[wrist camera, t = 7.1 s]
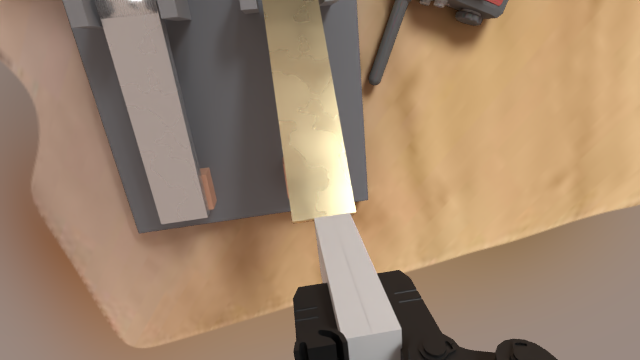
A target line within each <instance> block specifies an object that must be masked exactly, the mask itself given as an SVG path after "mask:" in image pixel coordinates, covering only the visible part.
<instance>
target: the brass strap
mask: <svg viewBox="0 0 640 360" xmlns="http://www.w3.org/2000/svg"><path fill="white" fill-rule="evenodd" d="M262 4H263V11H264V18H265V26H266V33H267V40H268V47H269V55H270V62H271V69H272V77H273V84H274V91H275V99H276V106H277V113H278V120H279V128H280V135H281V142H282V150H283V157H284V164H285V171H286V179H287V186H288V193H289V201H290V208H291V215H292V222H293V224H295V223H302V222H309V221H314V218H318V217H325V216H332V215H339V214H345V213H350V214H351V215H354V214H355V213H356V209H355V203H354V198H353V192H352V186H351V181H350V175H349V169H348V164H347V158H346V153H345V147H344V141H343V136H342V130H341V124H340V119H339V113H338V108H337V102H336V96H335V91H334V85H333V80H332V74H331V68H330V63H329V57H328V51H327V46H326V40H325V35H324V29H323V23H322V18H321V12H320V6H319V1H318V0H262Z"/></svg>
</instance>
